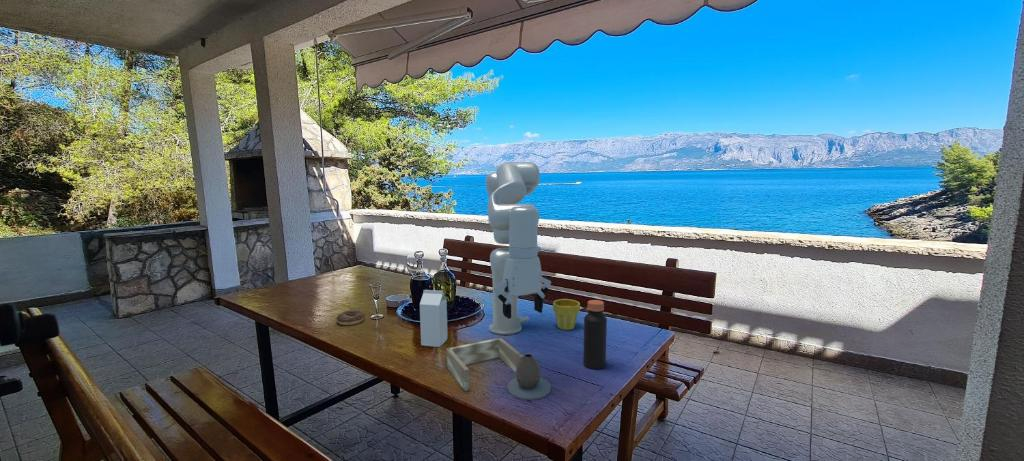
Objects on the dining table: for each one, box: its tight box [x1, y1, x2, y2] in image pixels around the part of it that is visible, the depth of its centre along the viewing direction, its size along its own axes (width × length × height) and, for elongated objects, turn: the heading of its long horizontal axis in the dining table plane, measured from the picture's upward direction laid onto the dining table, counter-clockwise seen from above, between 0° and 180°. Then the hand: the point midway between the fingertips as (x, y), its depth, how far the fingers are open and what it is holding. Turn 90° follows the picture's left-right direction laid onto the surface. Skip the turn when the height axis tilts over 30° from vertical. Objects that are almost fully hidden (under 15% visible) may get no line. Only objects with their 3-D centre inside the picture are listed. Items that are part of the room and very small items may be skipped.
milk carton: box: [419, 289, 448, 348], centre depth 142 cm, size 7×7×19 cm
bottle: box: [582, 299, 608, 370], centre depth 125 cm, size 7×7×20 cm
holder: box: [445, 337, 524, 392], centre depth 121 cm, size 18×16×6 cm
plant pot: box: [552, 298, 581, 331], centre depth 158 cm, size 10×10×10 cm
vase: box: [515, 353, 542, 389], centre depth 111 cm, size 7×7×9 cm
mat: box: [506, 377, 552, 401], centre depth 112 cm, size 12×12×1 cm
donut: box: [336, 309, 366, 326], centre depth 165 cm, size 11×11×4 cm
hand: (523, 314), depth 111 cm, fingers open, 9 cm apart
